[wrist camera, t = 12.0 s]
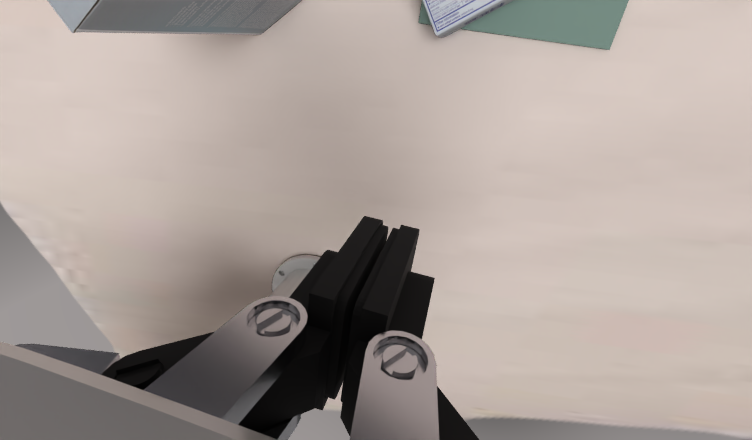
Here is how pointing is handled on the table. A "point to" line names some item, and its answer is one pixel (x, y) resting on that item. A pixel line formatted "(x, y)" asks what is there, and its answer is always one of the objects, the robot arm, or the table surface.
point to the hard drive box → (172, 15)
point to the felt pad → (552, 21)
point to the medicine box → (458, 13)
